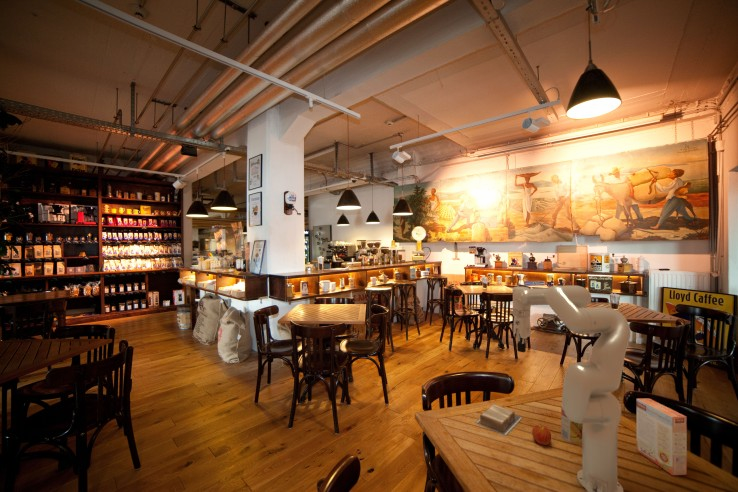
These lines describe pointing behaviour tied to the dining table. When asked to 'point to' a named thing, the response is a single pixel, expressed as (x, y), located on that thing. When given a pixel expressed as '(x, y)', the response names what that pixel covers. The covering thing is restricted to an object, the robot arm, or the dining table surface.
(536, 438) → the fruit
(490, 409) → the plaque
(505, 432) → the mat
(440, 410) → the dining table surface
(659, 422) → the cracker box
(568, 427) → the canned food
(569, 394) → the robot arm
